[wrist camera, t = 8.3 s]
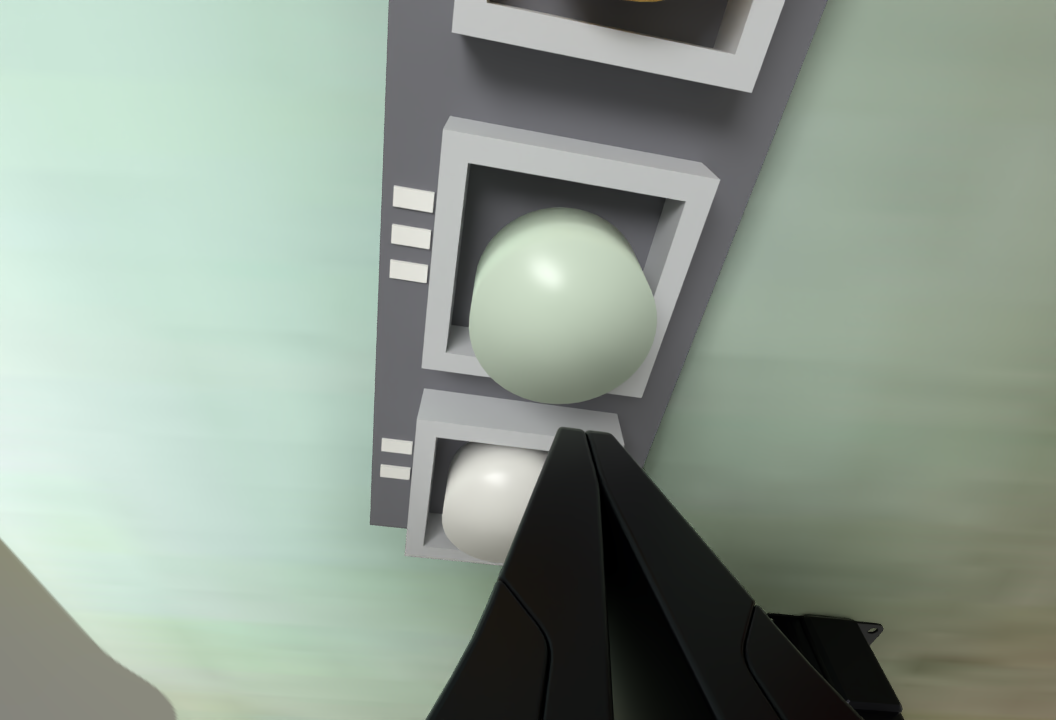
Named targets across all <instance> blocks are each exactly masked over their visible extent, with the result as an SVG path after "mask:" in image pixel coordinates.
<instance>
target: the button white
mask: <svg viewBox="0 0 1056 720" xmlns="http://www.w3.org/2000/svg"><path fill="white" fill-rule="evenodd" d="M548 452H549V451H544V450H536V449H528V448H520V447H511V446H503V445H495V444H487V443H479V442H471V441H470V442H468V443H466V444H465V445H464V446H463V447H461V448H460V449H459V450H458V451H457V453H456V454H455V455H454V457H453V459H452V461H451V463H450V467H449V472H448V479H447V486H446V493H445V500H444V507H443V514H442V525H443V529H444V532H445V534H446V536H447V537H448V539H449V540H450V541H451V543H453V544H454V545H455V546H456V547H457V548H458V549H460V550H461V551H462V552H464V553H466V554H468V555H470V556H472V557H474V558H477V559H480V560H484V561H489V562H495V563H504V561H505V559H506V556H507V554H508V552H509V549H510V547H511V544H512V542H513V539H514V537H515V534H516V532H517V529H518V527H519V524H520V522H521V519H522V517H523V514H524V512H525V509H526V507H527V504H528V502H529V499H530V497H531V494H532V492H533V489H534V487H535V484H536V482H537V479H538V477H539V475H540V472H541V470H542V467H543V465H544V462H545V460H546V457H547V455H548Z"/></svg>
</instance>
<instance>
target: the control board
mask: <svg viewBox="0 0 1056 720" xmlns="http://www.w3.org/2000/svg"><path fill="white" fill-rule="evenodd" d="M827 1H828V0H662V1H656V2H638V1H627V0H389V12H388V39H387V67H386V95H385V123H384V150H383V178H382V206H381V233H380V261H379V289H378V317H377V344H376V372H375V400H374V427H373V455H372V483H371V511H370V525H378V526H387V527H397V528H406V529H407V535H406V546H405V556H411V557H421V558H431V559H441V560H451V561H461V562H471V563H482V564H492V565H502V566H503V564H504V563H495V562H489V561H484V560H480V559H477V558H474V557H472V556H470V555H468V554H466V553H464V552H462V551H461V550H460V549H458V548H457V547H456V546H455V545H454V544H453V543H451V541H450V540H449V539H448V537H447V536H446V534H445V532H444V529H443V525H442V514H443V507H444V500H445V493H446V486H447V479H448V472H449V467H450V463H451V461H452V459H453V457H454V455H455V454H456V453H457V451H458V450H459V449H460V448H461V447H463V446H464V445H465V444H466V443H468V442H470V441H471V442H479V443H487V444H495V445H503V446H511V447H520V448H528V449H536V450H544V451H549V450H550V447H551V445H552V442H553V440H554V437H555V435H556V432H557V430H558V428H559V427H570V428H578V429H582V430H583V431H585V432H586V431H588V430H594V431H602V432H608V433H611V434H612V435H613V436H614V437H615V438H616V439H617V440H618V441H619V443H620V444H621V445H622V446H623V447H624V448H625V450H626V451H627V452H628V453H629V454H630V455H631V457H632V458H633V459H634V460H635V461H636V462H637V464H638V465H639V466H640V467H641V468H643V466H644V463H645V461H646V458H647V455H648V453H649V450H650V448H651V445H652V443H653V440H654V438H655V435H656V433H657V430H658V428H659V425H660V423H661V420H662V418H663V415H664V413H665V410H666V407H667V405H668V402H669V400H670V397H671V395H672V392H673V390H674V387H675V385H676V382H677V380H678V377H679V375H680V372H681V370H682V367H683V365H684V362H685V359H686V357H687V354H688V352H689V349H690V347H691V344H692V342H693V339H694V337H695V334H696V332H697V329H698V327H699V324H700V322H701V319H702V317H703V314H704V311H705V309H706V306H707V304H708V301H709V299H710V296H711V294H712V291H713V289H714V286H715V284H716V281H717V279H718V276H719V274H720V271H721V269H722V266H723V263H724V261H725V258H726V256H727V253H728V251H729V248H730V246H731V243H732V241H733V238H734V236H735V233H736V231H737V228H738V226H739V223H740V221H741V218H742V215H743V213H744V210H745V208H746V205H747V203H748V200H749V198H750V195H751V193H752V190H753V188H754V185H755V183H756V180H757V178H758V175H759V173H760V170H761V168H762V165H763V162H764V160H765V157H766V155H767V152H768V150H769V147H770V145H771V142H772V140H773V137H774V135H775V132H776V130H777V127H778V125H779V122H780V120H781V117H782V114H783V112H784V109H785V107H786V104H787V102H788V99H789V97H790V94H791V92H792V89H793V87H794V84H795V82H796V79H797V77H798V74H799V72H800V69H801V66H802V64H803V61H804V59H805V56H806V54H807V51H808V49H809V46H810V44H811V41H812V39H813V36H814V34H815V31H816V29H817V26H818V24H819V21H820V18H821V16H822V13H823V11H824V8H825V6H826V3H827ZM558 207H565V208H575V209H579V210H584V211H587V212H590V213H592V214H595V215H598V216H599V217H601V218H603V219H605V220H607V221H608V222H609V223H611V224H612V225H613V226H615V227H616V228H617V229H618V230H619V231H620V232H621V233H622V234H623V235H624V237H625V238H626V239H627V241H628V242H629V244H630V245H631V247H632V249H633V251H634V253H635V255H636V258H637V260H638V262H639V264H640V267H641V269H642V271H643V273H644V275H645V278H646V280H647V282H648V284H649V287H650V289H651V291H652V294H653V297H654V300H655V305H656V310H657V327H656V334H655V337H654V341H653V344H652V346H651V349H650V351H649V353H648V355H647V357H646V358H645V360H644V362H643V363H642V364H641V366H640V367H639V368H638V369H637V371H636V372H635V373H634V374H633V375H632V376H631V377H630V378H629V379H627V380H626V381H625V382H624V383H622V384H621V385H620V386H618V387H616V388H615V389H613V390H612V391H610V392H608V393H606V394H603V395H601V396H599V397H596V398H593V399H590V400H587V401H582V402H578V403H570V404H548V403H541V402H535V401H532V400H528V399H525V398H522V397H520V396H518V395H515V394H513V393H511V392H510V391H508V390H506V389H504V388H503V387H502V386H500V385H499V384H498V383H496V382H495V381H494V380H493V379H492V378H491V377H490V376H489V375H488V374H487V373H486V371H485V370H484V369H483V368H482V366H481V365H480V363H479V361H478V360H477V358H476V356H475V353H474V351H473V348H472V345H471V340H470V334H469V316H470V309H471V303H472V296H473V289H474V282H475V275H476V271H477V266H478V263H479V260H480V258H481V255H482V254H483V252H484V250H485V248H486V246H487V245H488V244H489V242H490V241H491V239H492V238H493V237H494V236H495V235H496V234H497V233H498V232H499V231H500V230H501V229H502V228H503V227H505V226H506V225H507V224H509V223H510V222H512V221H513V220H515V219H517V218H518V217H521V216H523V215H525V214H528V213H530V212H533V211H537V210H540V209H547V208H558Z"/></svg>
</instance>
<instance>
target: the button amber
mask: <svg viewBox="0 0 1056 720" xmlns="http://www.w3.org/2000/svg"><path fill="white" fill-rule="evenodd" d="M627 1H638V2H656V1H662V0H627Z"/></svg>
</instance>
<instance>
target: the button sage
mask: <svg viewBox="0 0 1056 720" xmlns="http://www.w3.org/2000/svg"><path fill="white" fill-rule="evenodd" d="M656 327H657V310H656V305H655V300H654V297H653V294H652V291H651V289H650V287H649V284H648V282H647V280H646V278H645V275H644V273H643V271H642V269H641V267H640V264H639V262H638V260H637V258H636V255H635V253H634V251H633V249H632V247H631V245H630V244H629V242H628V241H627V239H626V238H625V237H624V235H623V234H622V233H621V232H620V231H619V230H618V229H617V228H616V227H615V226H613V225H612V224H611V223H609V222H608V221H607V220H605V219H603V218H601V217H599V216H598V215H595V214H592V213H590V212H587V211H584V210H579V209H575V208H565V207H558V208H547V209H540V210H537V211H533V212H530V213H528V214H525V215H523V216H521V217H518V218H517V219H515V220H513V221H512V222H510V223H509V224H507V225H506V226H505V227H503V228H502V229H501V230H500V231H499V232H498V233H497V234H496V235H495V236H494V237H493V238H492V239H491V241H490V242H489V244H488V245H487V246H486V248H485V250H484V252H483V254H482V255H481V258H480V260H479V263H478V266H477V271H476V275H475V282H474V289H473V296H472V303H471V309H470V316H469V334H470V340H471V345H472V348H473V351H474V353H475V356H476V358H477V360H478V361H479V363H480V365H481V366H482V368H483V369H484V370H485V371H486V373H487V374H488V375H489V376H490V377H491V378H492V379H493V380H494V381H495V382H496V383H498V384H499V385H500V386H502V387H503V388H504V389H506V390H508V391H510V392H511V393H513V394H515V395H518V396H520V397H522V398H525V399H528V400H532V401H535V402H541V403H548V404H570V403H578V402H582V401H587V400H590V399H593V398H596V397H599V396H601V395H603V394H606V393H608V392H610V391H612V390H613V389H615V388H616V387H618V386H620V385H621V384H622V383H624V382H625V381H626V380H627V379H629V378H630V377H631V376H632V375H633V374H634V373H635V372H636V371H637V369H638V368H639V367H640V366H641V364H642V363H643V362H644V360H645V358H646V357H647V355H648V353H649V351H650V349H651V346H652V344H653V341H654V337H655V334H656Z"/></svg>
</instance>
